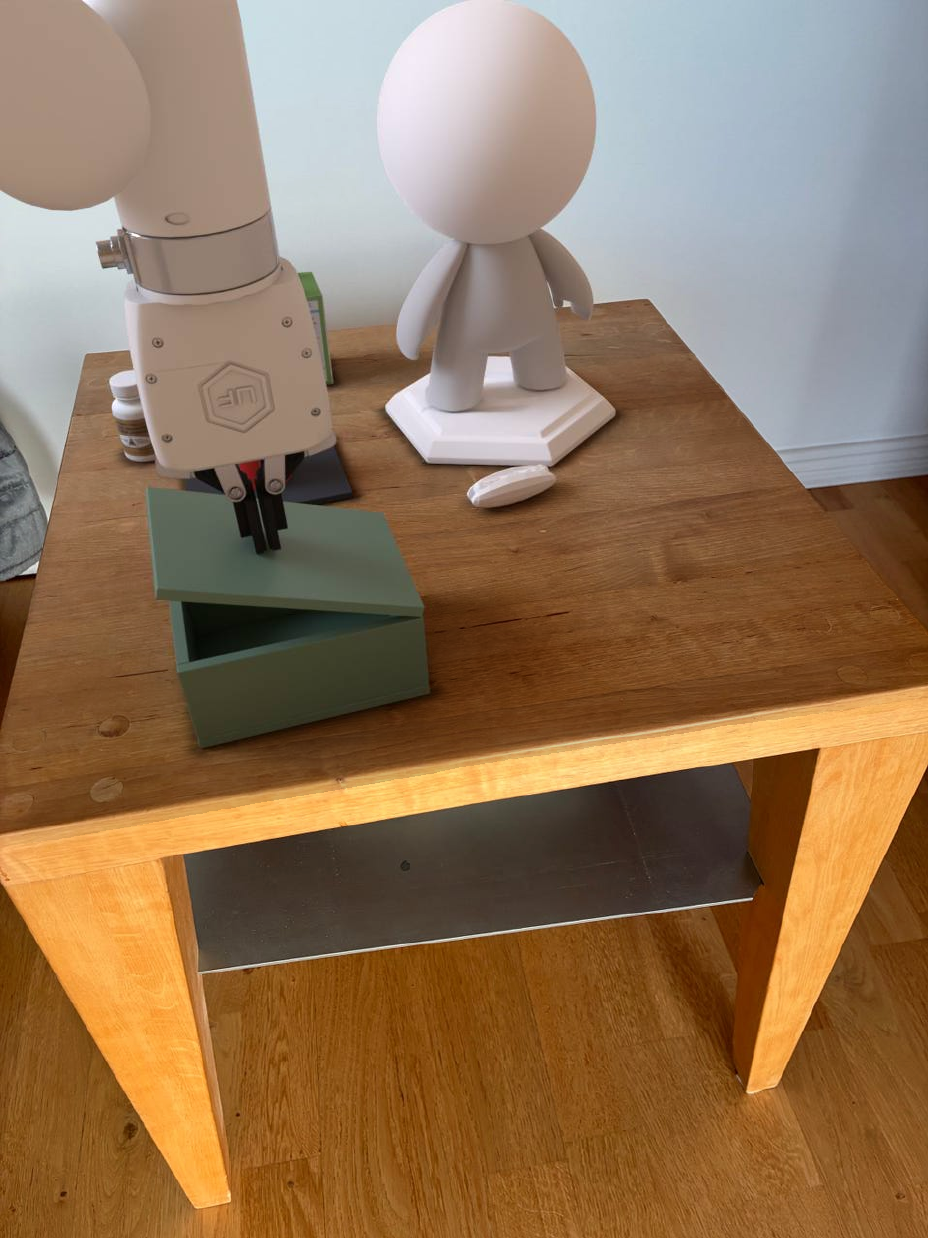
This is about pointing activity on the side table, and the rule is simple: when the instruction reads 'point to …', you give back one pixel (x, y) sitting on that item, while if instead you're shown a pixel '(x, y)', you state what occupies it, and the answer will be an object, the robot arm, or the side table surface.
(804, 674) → the side table surface
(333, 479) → the mat
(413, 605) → the lid
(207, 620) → the storage box
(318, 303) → the ink box
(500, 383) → the white toy figurine
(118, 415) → the pill bottle
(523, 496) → the white oval capsule
